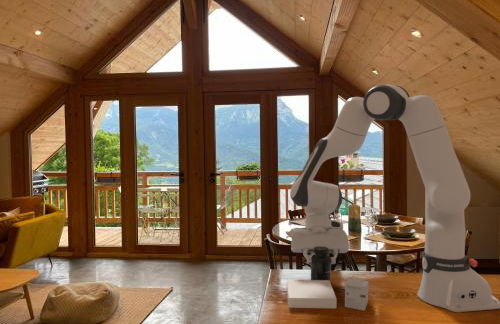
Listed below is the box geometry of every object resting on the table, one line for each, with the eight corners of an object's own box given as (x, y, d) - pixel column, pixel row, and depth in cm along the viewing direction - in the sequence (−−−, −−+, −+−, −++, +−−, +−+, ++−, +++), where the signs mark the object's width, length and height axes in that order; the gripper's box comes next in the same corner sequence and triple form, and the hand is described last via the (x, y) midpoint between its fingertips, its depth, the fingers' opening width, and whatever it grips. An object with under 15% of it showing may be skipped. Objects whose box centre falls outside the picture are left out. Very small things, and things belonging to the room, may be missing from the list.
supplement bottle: (330, 286, 133) (331, 251, 132) (310, 285, 134) (310, 250, 133) (330, 278, 140) (331, 245, 139) (311, 277, 141) (311, 244, 140)
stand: (329, 289, 131) (329, 280, 131) (336, 308, 117) (336, 298, 117) (286, 288, 132) (286, 279, 131) (288, 307, 118) (288, 297, 117)
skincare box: (344, 307, 118) (344, 283, 117) (348, 299, 123) (348, 276, 123) (365, 311, 115) (365, 286, 115) (368, 302, 121) (368, 279, 120)
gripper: (289, 223, 143) (291, 258, 134) (347, 223, 142) (352, 259, 133) (289, 232, 147) (290, 266, 139) (344, 232, 146) (349, 267, 138)
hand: (321, 263), depth 136 cm, fingers closed on supplement bottle, 7 cm apart
